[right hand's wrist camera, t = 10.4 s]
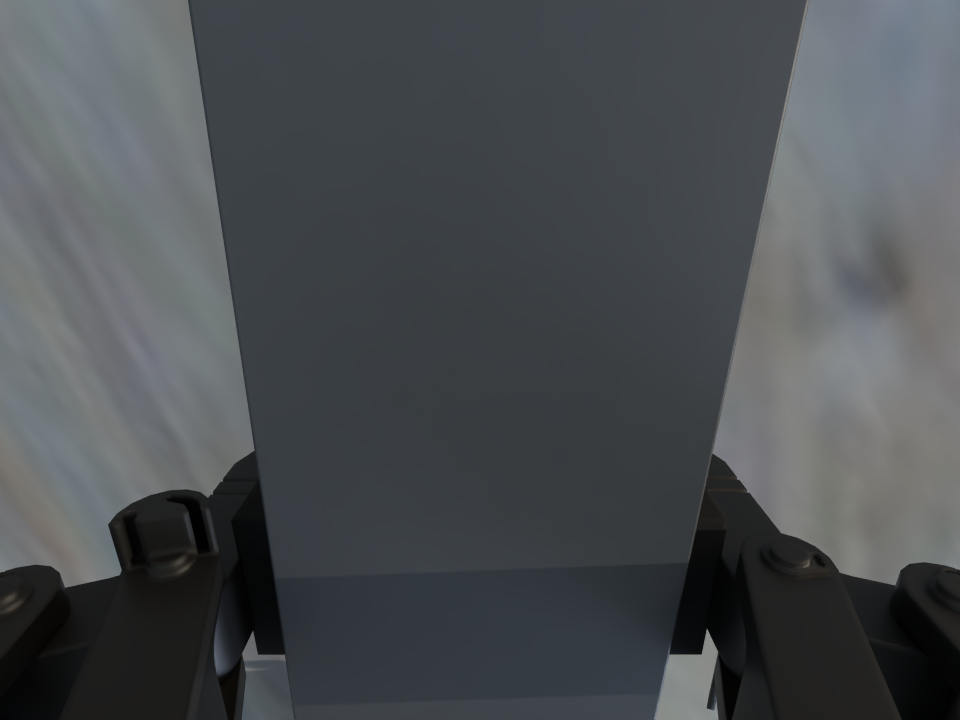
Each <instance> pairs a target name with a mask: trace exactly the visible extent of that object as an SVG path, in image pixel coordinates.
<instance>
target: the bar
mask: <svg viewBox="0 0 960 720" xmlns="http://www.w3.org/2000/svg"><path fill="white" fill-rule="evenodd" d="M188 3H189V10H190V16H191V23H192V30H193V37H194V43H195V50H196V57H197V64H198V70H199V77H200V84H201V91H202V97H203V104H204V111H205V118H206V124H207V131H208V138H209V145H210V151H211V158H212V165H213V172H214V178H215V185H216V192H217V199H218V205H219V212H220V219H221V226H222V232H223V239H224V246H225V253H226V259H227V266H228V273H229V280H230V286H231V293H232V300H233V307H234V313H235V320H236V327H237V334H238V340H239V347H240V354H241V361H242V367H243V374H244V381H245V388H246V394H247V401H248V408H249V415H250V421H251V428H252V435H253V442H254V449H255V455H256V462H257V469H258V476H259V482H260V489H261V496H262V503H263V509H264V516H265V523H266V530H267V536H268V543H269V550H270V557H271V563H272V570H273V577H274V584H275V590H276V597H277V604H278V611H279V617H280V624H281V631H282V638H283V644H284V651H285V658H286V665H287V671H288V678H289V685H290V692H291V698H292V705H293V712H294V719H295V720H655V719H656V714H657V709H658V705H659V700H660V695H661V691H662V686H663V681H664V677H665V672H666V667H667V663H668V658H669V653H670V648H671V644H672V639H673V634H674V630H675V625H676V620H677V616H678V611H679V606H680V602H681V597H682V592H683V588H684V583H685V578H686V574H687V569H688V564H689V560H690V555H691V550H692V546H693V541H694V536H695V532H696V527H697V522H698V518H699V513H700V508H701V504H702V499H703V494H704V490H705V485H706V480H707V476H708V471H709V466H710V462H711V457H712V452H713V448H714V443H715V438H716V434H717V429H718V424H719V420H720V415H721V410H722V406H723V401H724V396H725V391H726V387H727V382H728V377H729V373H730V368H731V363H732V359H733V354H734V349H735V345H736V340H737V335H738V331H739V326H740V321H741V317H742V312H743V307H744V303H745V298H746V293H747V289H748V284H749V279H750V275H751V270H752V265H753V261H754V256H755V251H756V247H757V242H758V237H759V233H760V228H761V223H762V219H763V214H764V209H765V205H766V200H767V195H768V191H769V186H770V181H771V177H772V172H773V167H774V163H775V158H776V153H777V149H778V144H779V139H780V134H781V130H782V125H783V120H784V116H785V111H786V106H787V102H788V97H789V92H790V88H791V83H792V78H793V74H794V69H795V64H796V60H797V55H798V50H799V46H800V41H801V36H802V32H803V27H804V22H805V18H806V13H807V8H808V4H809V0H188Z"/></svg>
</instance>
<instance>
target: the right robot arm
mask: <svg viewBox="0 0 960 720" xmlns="http://www.w3.org/2000/svg"><path fill="white" fill-rule="evenodd" d="M108 526H109V529H110V533H111V536H112V539H113V542H114V546H115V549H116V552H117V556H118V559H119V562H120V566H121V569H122V572H121V574H120V575H119V576H116V577H112V578H108V579H104V580H99V581H95V582H90V583H86V584H81V585H76V586H72V587H67V588H65V587H64V584H63V581H62V578H61V575H60V573H59V572H58V571H56V570H55V569H54V568H52V567H51V566H42V565H31V566H25V567H18V568H14V569H11V570H7V571H5V572H1V573H0V720H241V719H242V710H243V700H244V690H245V680H246V672H245V665H244V660H243V656H242V652H243V650H244V648H245V646H246V644H247V642H248V640H249V638H250V635H251V633H252V631H253V632H254V637H255V642H256V647H257V652H258V655H285V651H284V644H283V638H282V631H281V624H280V617H279V611H278V604H277V597H276V590H275V584H274V577H273V570H272V563H271V557H270V550H269V543H268V536H267V530H266V523H265V516H264V509H263V503H262V496H261V489H260V482H259V476H258V469H257V462H256V455H255V451H253V452H252V453H250V454H249V455H247V456H246V457H244V458H243V459H241V460H240V461H238V462H237V463H235V464H234V466H233V467H232V468H231V469H230V471H229V472H228V473H227V475H226V476H225V477H224V478H223V482H220V484H219V485H218V486H217V487H216V489H215V490H214V491H213V495H210V496H209V498H207V497H206V496H205V495H203V494H202V493H201V492H197V491H192V490H170V491H166V492H162V493H158V494H154V495H150V496H148V497H145V498H143V499H141V500H139V501H136V502H134V503H132V504H130V505H129V506H128V507H126V508H125V509H123V510H122V511H120V512H119V513H117V514H116V516H115V517H114V518H113V519H112V521H111V522H110V523H109V524H108ZM707 629H708V631H709V633H710V636H711V638H712V640H713V642H714V644H715V646H716V648H717V650H718V656H717V660H716V665H715V670H714V674H713V679H712V683H711V688H710V693H709V698H708V704H707V708H708V709H711V710H714V709H715V704H716V700H717V708H718V718H719V720H960V570H957V569H955V568H952V567H948V566H945V565H938V564H932V563H925V562H924V563H914V564H909V565H907V566H906V567H905V568H903V569H902V570H901V571H900V574H899V577H898V580H897V582H896V585H895V586H894V585H890V584H885V583H881V582H876V581H871V580H867V579H862V578H858V577H853V576H849V575H845V574H842V573H839V571H838V569H837V568H836V566H835V565H834V563H833V562H832V560H831V559H830V558H829V557H828V556H827V555H825V554H824V553H823V552H822V551H820V550H819V549H818V548H816V547H815V546H813V545H811V544H809V543H807V542H805V541H803V540H801V539H799V538H796V537H792V536H789V535H785V534H782V533H780V531H779V530H778V529H777V527H776V526H775V525H774V524H773V522H772V521H771V520H770V519H769V517H768V516H767V515H766V513H765V512H764V511H763V510H762V508H761V507H760V506H759V505H758V503H757V502H756V501H755V499H754V498H753V497H752V496H751V494H750V493H747V489H746V488H745V487H744V485H743V484H742V483H741V482H740V480H737V477H736V475H735V474H734V473H733V471H732V470H731V469H730V468H729V466H728V465H727V464H726V462H724V461H723V460H721V459H720V458H718V457H717V456H715V455H714V454H712V457H711V462H710V466H709V471H708V476H707V480H706V485H705V490H704V494H703V499H702V504H701V508H700V513H699V518H698V522H697V527H696V532H695V536H694V541H693V546H692V550H691V555H690V560H689V564H688V569H687V574H686V578H685V583H684V588H683V592H682V597H681V602H680V606H679V611H678V616H677V620H676V625H675V630H674V634H673V639H672V644H671V648H670V653H669V654H702V650H703V645H704V640H705V635H706V630H707Z"/></svg>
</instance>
